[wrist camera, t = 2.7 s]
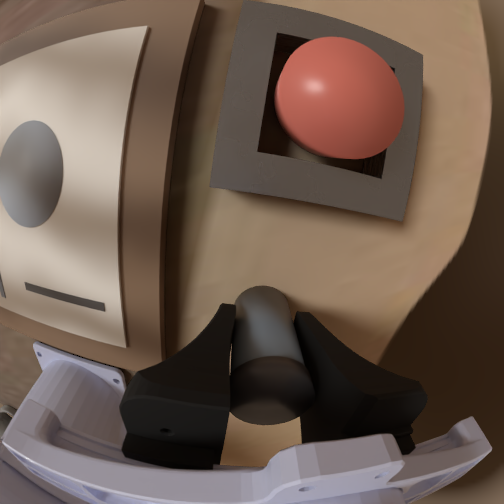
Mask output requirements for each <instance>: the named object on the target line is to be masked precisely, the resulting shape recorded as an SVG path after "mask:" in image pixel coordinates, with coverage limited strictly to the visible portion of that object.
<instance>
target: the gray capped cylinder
mask: <svg viewBox="0 0 504 504" xmlns="http://www.w3.org/2000/svg"><path fill="white" fill-rule="evenodd" d="M234 305H236V317H235V324H234V331H233V337H232V351H231V373H230V412H231V413H232V414H233V415H234V416H235V417H236V418H238V419H240V420H242V421H245V422H248V423H251V424H257V425H274V424H280V423H285V422H288V421H291V420H293V419H295V418H297V417H299V416H301V415H302V414H304V413H305V412H306V411H307V410H308V409H309V408H310V407H311V406H312V404H313V402H314V400H315V390H314V386H313V383H312V379H311V375H310V372H309V370H308V369H307V368H306V367H305V364H304V360H303V356H302V353H301V349H300V345H299V342H298V338H297V334H296V331H295V327H294V324H293V320H292V316H291V313H290V309H289V306H288V302H287V300H286V298H285V296H284V295H283V294H282V293H281V292H280V291H278V290H277V289H275V288H272V287H268V286H256V287H252V288H249V289H247V290H245V291H244V292H243V293H241V294H240V295H239V297H238V298H237V300H236V301H235V304H234Z"/></svg>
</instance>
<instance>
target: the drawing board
mask: <svg viewBox="0 0 504 504" xmlns="http://www.w3.org/2000/svg"><path fill="white" fill-rule="evenodd" d="M204 5H205V2H204V0H126V1H120V2H115V3H110V4H106V5H102V6H98V7H94V8H90V9H86V10H83V11H79V12H76V13H73V14H70V15H67V16H64V17H61V18H58V19H55V20H53V21H50V22H47V23H45V24H42V25H40V26H38V27H35V28H33V29H31V30H29V31H26V32H24V33H22V34H20V35H18V36H16V37H14V38H12V39H10V40H8V41H6V42H4V43H3V44H1V45H0V323H1V324H3V325H5V326H7V327H9V328H11V329H13V330H15V331H17V332H19V333H22V334H24V335H26V336H29V337H31V338H33V339H36V340H38V341H41V342H43V343H46V344H48V345H51V346H53V347H56V348H59V349H61V350H64V351H67V352H70V353H73V354H76V355H79V356H82V357H85V358H88V359H91V360H95V361H98V362H101V363H105V364H108V365H112V366H116V367H120V368H123V369H127V370H132V371H136V372H137V371H140V370H143V369H145V368H148V367H151V366H153V365H156V364H158V363H160V362H162V361H164V360H166V348H165V310H164V289H165V250H166V231H167V215H168V203H169V191H170V181H171V172H172V163H173V155H174V147H175V140H176V133H177V126H178V120H179V114H180V108H181V102H182V97H183V91H184V86H185V81H186V76H187V71H188V67H189V62H190V58H191V54H192V49H193V45H194V41H195V37H196V33H197V30H198V26H199V22H200V19H201V15H202V12H203V8H204Z"/></svg>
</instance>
